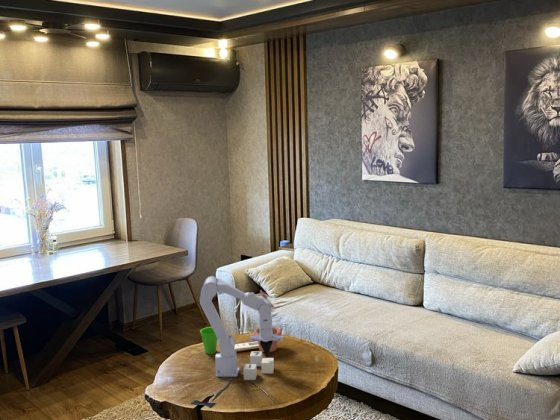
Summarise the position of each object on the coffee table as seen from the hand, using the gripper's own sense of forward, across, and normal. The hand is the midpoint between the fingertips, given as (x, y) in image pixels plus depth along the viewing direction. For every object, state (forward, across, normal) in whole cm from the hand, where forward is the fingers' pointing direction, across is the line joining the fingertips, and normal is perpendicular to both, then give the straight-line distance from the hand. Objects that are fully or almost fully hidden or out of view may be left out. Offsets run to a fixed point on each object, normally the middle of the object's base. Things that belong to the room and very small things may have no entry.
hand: (267, 356), depth 251 cm
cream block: (+7, 0, 0) cm, 7 cm away
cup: (+7, -30, +20) cm, 37 cm away
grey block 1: (+7, -7, -6) cm, 12 cm away
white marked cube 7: (+7, -6, +7) cm, 12 cm away
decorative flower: (+7, -2, +22) cm, 23 cm away
